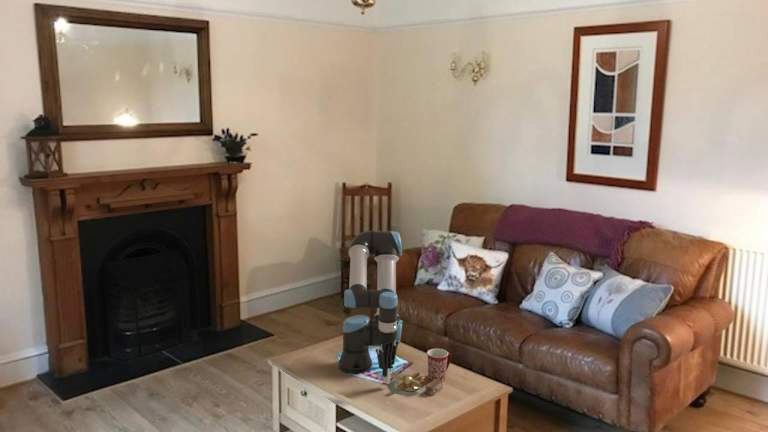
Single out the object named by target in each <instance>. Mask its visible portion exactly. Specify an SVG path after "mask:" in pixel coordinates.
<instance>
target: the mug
mask: <svg viewBox="0 0 768 432" xmlns="http://www.w3.org/2000/svg"><path fill="white" fill-rule="evenodd" d="M426 354H427V374H428V375H427V378H428V380H429V381H430V382H432V381H434V380H435V379H438V380H441V381H442V383H443V382H444V381H445V380H446V375H447V370H448V368H449V367H450V364H451V360H452V354H451V353H450V352H448V351H447V350H446V349H443V348H432V349H428V350H427V352H426Z"/></svg>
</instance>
